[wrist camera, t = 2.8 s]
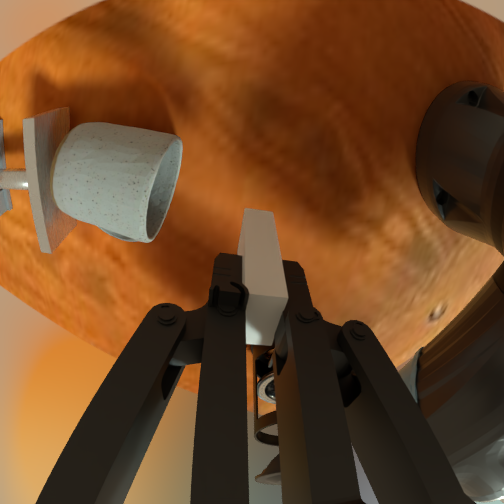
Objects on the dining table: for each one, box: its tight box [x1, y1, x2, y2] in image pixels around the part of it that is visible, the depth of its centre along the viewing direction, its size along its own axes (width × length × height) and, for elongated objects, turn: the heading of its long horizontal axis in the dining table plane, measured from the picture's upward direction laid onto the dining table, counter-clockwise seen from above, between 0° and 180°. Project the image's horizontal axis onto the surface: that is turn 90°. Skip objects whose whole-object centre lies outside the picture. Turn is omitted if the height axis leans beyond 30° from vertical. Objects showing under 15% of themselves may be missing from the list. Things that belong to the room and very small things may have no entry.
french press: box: [251, 340, 281, 485], centre depth 24 cm, size 12×9×23 cm
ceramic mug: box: [50, 122, 183, 243], centre depth 19 cm, size 11×8×8 cm
